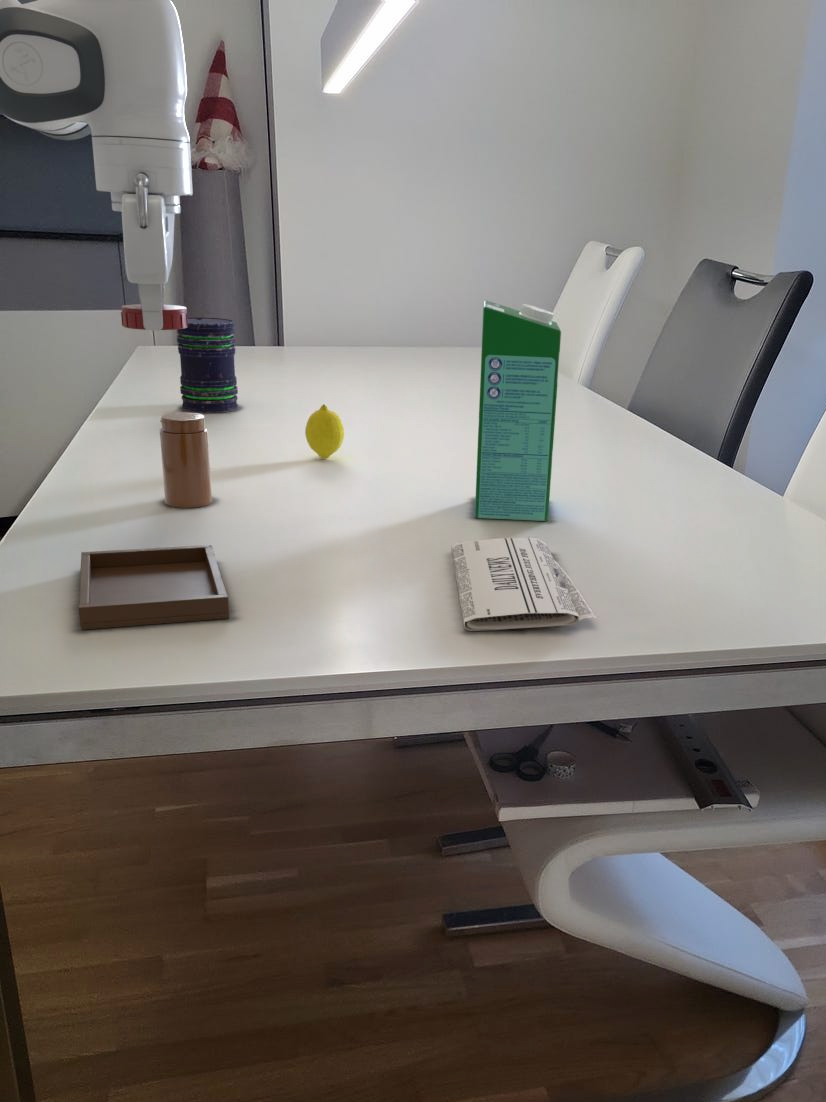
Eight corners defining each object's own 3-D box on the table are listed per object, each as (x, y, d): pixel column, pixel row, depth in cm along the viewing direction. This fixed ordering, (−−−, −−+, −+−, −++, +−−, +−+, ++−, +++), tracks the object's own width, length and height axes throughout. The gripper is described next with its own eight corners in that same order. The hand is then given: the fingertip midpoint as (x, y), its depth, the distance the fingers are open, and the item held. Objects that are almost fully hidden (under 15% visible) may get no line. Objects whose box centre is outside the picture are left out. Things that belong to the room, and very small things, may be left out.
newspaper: (598, 632, 94) (597, 607, 93) (465, 643, 94) (463, 618, 93) (561, 552, 115) (560, 530, 114) (452, 561, 115) (450, 539, 114)
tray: (83, 571, 103) (81, 552, 102) (212, 563, 107) (211, 544, 106) (81, 630, 90) (78, 607, 89) (229, 618, 94) (228, 596, 93)
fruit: (322, 465, 148) (321, 409, 145) (298, 458, 152) (296, 403, 149) (351, 459, 152) (351, 405, 149) (327, 453, 156) (326, 399, 153)
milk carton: (547, 521, 127) (562, 309, 117) (474, 518, 127) (483, 305, 117) (544, 502, 135) (558, 302, 126) (475, 499, 135) (484, 299, 125)
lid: (188, 330, 102) (186, 310, 101) (120, 329, 100) (118, 309, 99) (188, 324, 107) (186, 304, 106) (124, 322, 106) (122, 303, 105)
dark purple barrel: (247, 410, 183) (243, 323, 177) (193, 414, 178) (187, 324, 172) (226, 401, 191) (221, 316, 185) (173, 404, 185) (167, 318, 179)
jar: (155, 502, 127) (148, 416, 123) (189, 493, 132) (183, 409, 127) (188, 510, 125) (182, 422, 120) (221, 501, 129) (216, 416, 125)
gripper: (177, 174, 90) (187, 338, 95) (179, 176, 108) (187, 314, 113) (100, 170, 88) (115, 337, 93) (115, 173, 106) (127, 313, 112)
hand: (155, 325), depth 103 cm, fingers closed on lid, 6 cm apart
